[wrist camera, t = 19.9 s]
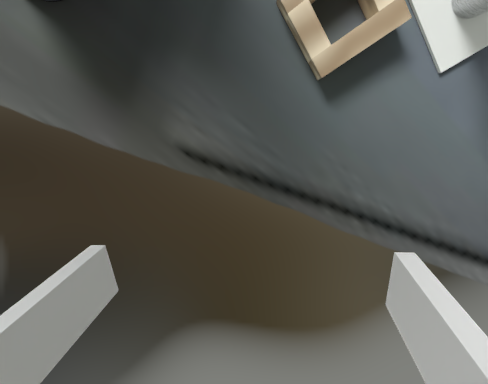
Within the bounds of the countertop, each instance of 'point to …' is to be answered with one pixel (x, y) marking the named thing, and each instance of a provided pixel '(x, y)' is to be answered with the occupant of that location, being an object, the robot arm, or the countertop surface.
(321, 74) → the bore block
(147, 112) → the countertop surface
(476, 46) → the rubber mat
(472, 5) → the steel plug
